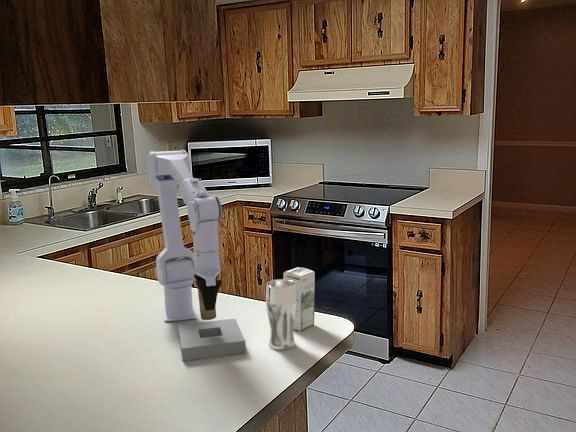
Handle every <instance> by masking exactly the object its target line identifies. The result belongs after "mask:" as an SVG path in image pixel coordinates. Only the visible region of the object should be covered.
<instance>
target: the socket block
mask: <svg viewBox="0 0 576 432" xmlns="http://www.w3.org/2000/svg"><path fill="white" fill-rule="evenodd" d="M177 326H178V327H177V329H178V341H179V345H180V347H179V348H180V352H181V360H182V362H187V361H194V360H203V359H211V358H212V359H213V358H220V357H226V356H236V355H242V354H246V340H245V337H244V335H243V333H242V331H241V328H240V326H239V324H238V322H237V320H236V318H228V319H219V320H218V319H217V320H207V321H200V322H191V323H182V324H177Z"/></svg>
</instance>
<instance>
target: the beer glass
mask: <svg viewBox="0 0 576 432" xmlns="http://www.w3.org/2000/svg"><path fill="white" fill-rule="evenodd" d="M265 290H266V291H265V304H266V305H265V307H266V313H267V317H268V324H269V329H270V330H269V331H270V334H269V335H270V337H269V341H268V342H269V343H268V346H269V347H270V349H273V350H276V351H288V350H291V349H293V348H294V347H295V346H296V341H295V336H294V329H293V324H294V318H295V312H296V289H295V282H294V281H291V280H287V279H283V278H281V279H280V278H279V279H278V278H277V279H272V280H270V281H267V283H266V289H265Z"/></svg>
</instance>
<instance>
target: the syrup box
mask: <svg viewBox="0 0 576 432" xmlns="http://www.w3.org/2000/svg"><path fill="white" fill-rule="evenodd" d="M315 273H316V272H315V271H314V270H311V269H309V268H306V267H298V266H297V267H295V268H292V269H289V270H285V271H284V272H283V278H282V279H287V280H291V281H294V282H295V289H296V312H295V318H294V324H293V330H295V331H298V332H299V331H300V332H302V331H304V330H306V329H307V328H310V327H311V326H313V325H315V291H316V289H315V287H316V286H315V285H316V284H315V279H316V277H315V275H316V274H315Z"/></svg>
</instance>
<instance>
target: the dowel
mask: <svg viewBox="0 0 576 432" xmlns="http://www.w3.org/2000/svg"><path fill="white" fill-rule="evenodd" d="M197 292H198V293H197V294H198V302H199V305H198V306H199V313H200V319H201V320H203V321H213V320H215V319H216V318H217V309H216V306H215V310H207V311H206V310H205V307H204V303H203V298H202V294H201V291H200V289H199V288H198V287H197Z"/></svg>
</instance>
